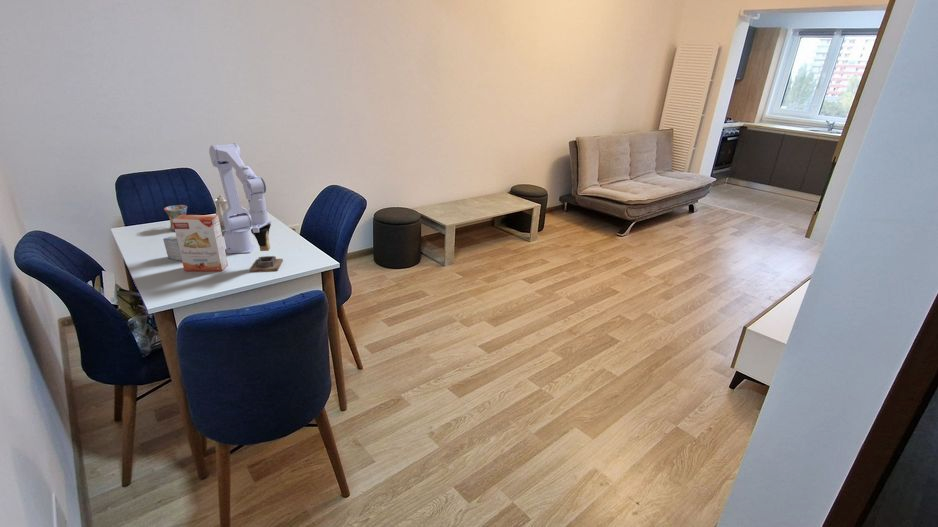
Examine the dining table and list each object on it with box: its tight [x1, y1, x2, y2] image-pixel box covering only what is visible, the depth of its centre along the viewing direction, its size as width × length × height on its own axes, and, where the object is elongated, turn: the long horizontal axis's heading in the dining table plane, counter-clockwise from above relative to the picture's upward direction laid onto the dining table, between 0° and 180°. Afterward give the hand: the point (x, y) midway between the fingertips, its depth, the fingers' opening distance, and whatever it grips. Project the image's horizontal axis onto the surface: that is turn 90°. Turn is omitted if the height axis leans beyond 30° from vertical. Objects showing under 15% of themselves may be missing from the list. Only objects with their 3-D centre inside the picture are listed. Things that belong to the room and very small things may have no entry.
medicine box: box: [163, 235, 182, 261], centre depth 180 cm, size 8×4×9 cm, turn 71°
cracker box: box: [172, 214, 229, 272], centre depth 169 cm, size 14×6×21 cm, turn 94°
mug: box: [163, 204, 188, 232], centre depth 212 cm, size 12×9×11 cm
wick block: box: [258, 230, 271, 252], centre depth 173 cm, size 3×3×8 cm
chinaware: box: [213, 193, 251, 232], centre depth 217 cm, size 28×17×17 cm, turn 15°
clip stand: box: [249, 255, 284, 273], centre depth 176 cm, size 10×10×3 cm
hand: (263, 244), depth 174 cm, fingers closed on wick block, 3 cm apart
